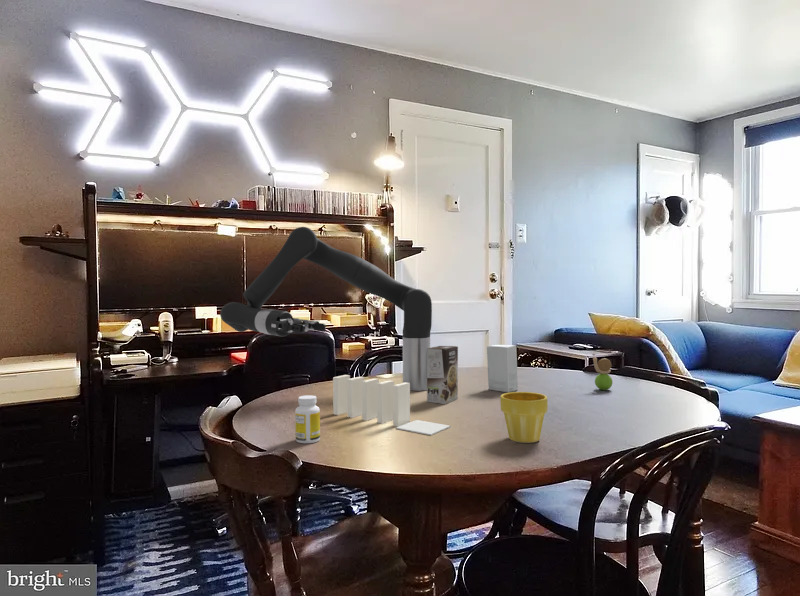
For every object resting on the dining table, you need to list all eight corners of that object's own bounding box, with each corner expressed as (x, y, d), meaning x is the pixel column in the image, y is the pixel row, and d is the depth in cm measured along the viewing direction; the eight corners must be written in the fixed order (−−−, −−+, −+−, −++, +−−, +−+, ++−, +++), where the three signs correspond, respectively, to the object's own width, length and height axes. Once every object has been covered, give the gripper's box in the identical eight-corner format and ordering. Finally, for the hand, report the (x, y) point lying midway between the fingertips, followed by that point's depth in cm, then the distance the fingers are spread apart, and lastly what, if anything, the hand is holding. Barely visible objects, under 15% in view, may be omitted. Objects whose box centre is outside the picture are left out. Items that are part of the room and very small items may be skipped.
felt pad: (395, 428, 130) (395, 427, 130) (416, 421, 138) (416, 419, 138) (430, 435, 124) (430, 434, 124) (450, 427, 132) (450, 425, 132)
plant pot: (490, 437, 123) (490, 394, 122) (522, 430, 129) (522, 389, 128) (525, 448, 114) (525, 402, 114) (557, 440, 120) (557, 396, 120)
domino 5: (393, 425, 133) (392, 385, 133) (404, 421, 137) (404, 382, 137) (398, 426, 132) (398, 386, 132) (410, 422, 136) (409, 382, 136)
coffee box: (446, 404, 156) (446, 349, 156) (426, 402, 160) (426, 347, 159) (458, 398, 164) (458, 345, 164) (439, 396, 168) (439, 344, 167)
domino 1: (333, 414, 145) (333, 377, 145) (345, 410, 149) (345, 374, 149) (337, 415, 144) (337, 377, 144) (350, 411, 148) (349, 375, 148)
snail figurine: (589, 388, 179) (589, 352, 179) (607, 388, 180) (607, 352, 180) (596, 391, 174) (596, 354, 174) (615, 391, 175) (615, 354, 174)
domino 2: (347, 417, 142) (347, 379, 142) (359, 413, 146) (359, 376, 146) (351, 417, 141) (351, 379, 141) (364, 414, 145) (364, 377, 145)
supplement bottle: (320, 436, 124) (319, 394, 124) (320, 443, 118) (319, 399, 118) (296, 437, 123) (295, 394, 123) (294, 444, 118) (294, 399, 117)
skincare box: (518, 390, 177) (518, 345, 176) (507, 393, 172) (507, 346, 172) (497, 387, 183) (497, 343, 182) (486, 389, 179) (486, 344, 178)
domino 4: (377, 422, 136) (377, 383, 136) (389, 418, 140) (389, 380, 140) (382, 423, 135) (382, 383, 135) (394, 419, 139) (394, 381, 139)
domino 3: (362, 419, 139) (361, 381, 139) (374, 416, 143) (374, 378, 143) (366, 420, 138) (366, 381, 138) (379, 416, 142) (378, 379, 142)
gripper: (256, 310, 155) (297, 315, 146) (291, 309, 166) (332, 314, 158) (254, 336, 155) (295, 343, 146) (290, 333, 167) (330, 340, 158)
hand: (314, 328), depth 152 cm, fingers open, 8 cm apart
